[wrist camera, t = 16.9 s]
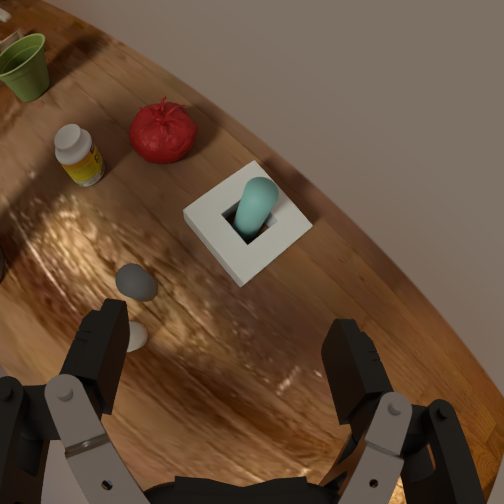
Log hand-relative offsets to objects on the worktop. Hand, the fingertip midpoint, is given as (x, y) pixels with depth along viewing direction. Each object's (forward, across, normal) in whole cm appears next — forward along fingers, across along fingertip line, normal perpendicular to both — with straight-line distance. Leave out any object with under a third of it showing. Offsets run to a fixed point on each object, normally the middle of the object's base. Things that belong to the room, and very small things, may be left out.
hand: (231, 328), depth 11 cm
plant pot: (+48, -42, +7) cm, 64 cm away
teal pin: (+30, +4, -11) cm, 32 cm away
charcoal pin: (+23, -9, -18) cm, 30 cm away
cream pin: (+18, -10, -22) cm, 30 cm away
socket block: (+30, +4, -11) cm, 32 cm away
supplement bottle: (+34, -21, -6) cm, 41 cm away
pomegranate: (+38, -10, -2) cm, 40 cm away
